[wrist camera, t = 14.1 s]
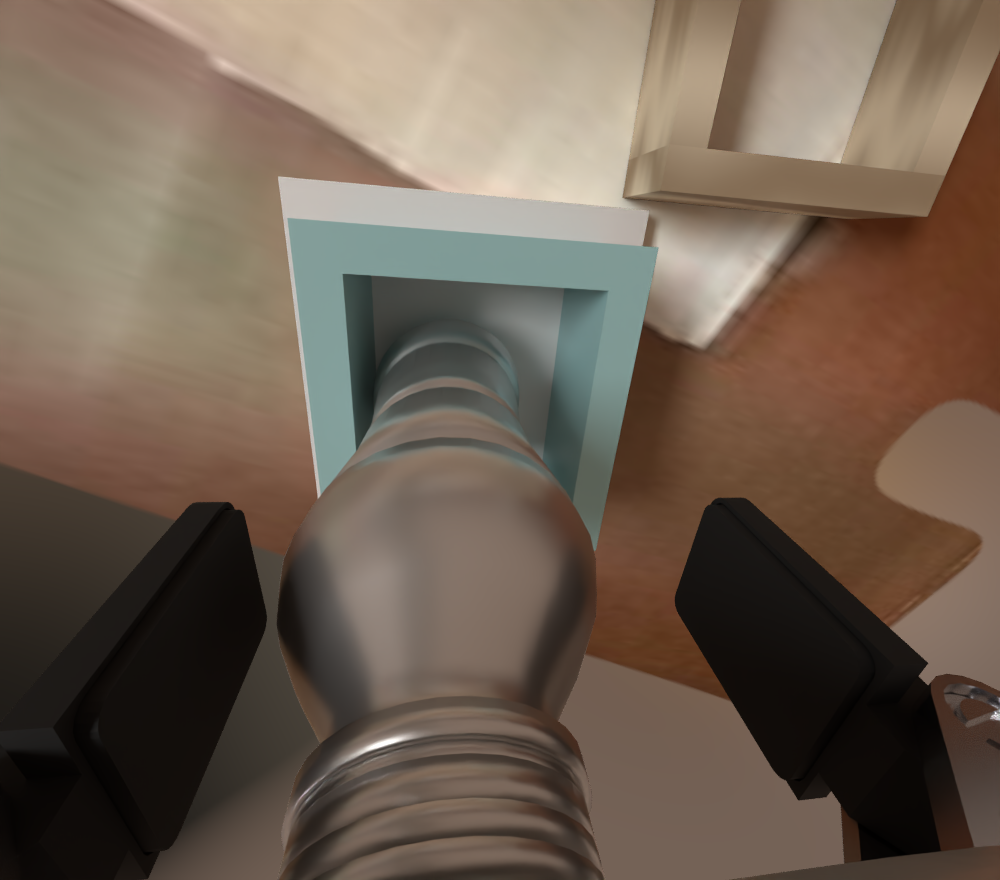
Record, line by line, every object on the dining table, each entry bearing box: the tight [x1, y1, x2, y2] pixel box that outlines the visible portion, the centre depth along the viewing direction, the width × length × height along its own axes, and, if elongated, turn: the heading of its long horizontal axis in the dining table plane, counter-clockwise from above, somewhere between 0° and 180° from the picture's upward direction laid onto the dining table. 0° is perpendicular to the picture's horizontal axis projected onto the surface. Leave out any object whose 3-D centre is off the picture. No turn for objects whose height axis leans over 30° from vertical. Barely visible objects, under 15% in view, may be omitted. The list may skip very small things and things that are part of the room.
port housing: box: [278, 177, 658, 551], centre depth 20 cm, size 16×16×7 cm
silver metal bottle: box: [277, 319, 606, 880], centre depth 13 cm, size 6×7×20 cm
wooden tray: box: [623, 0, 1000, 219], centre depth 17 cm, size 13×12×4 cm
